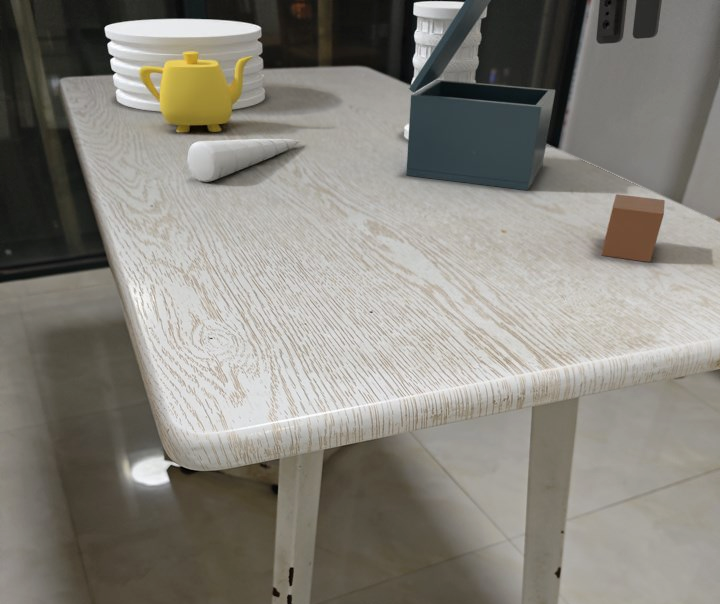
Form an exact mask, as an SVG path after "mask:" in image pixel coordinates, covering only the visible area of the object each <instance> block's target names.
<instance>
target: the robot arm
mask: <svg viewBox="0 0 720 604" xmlns="http://www.w3.org/2000/svg"><path fill="white" fill-rule="evenodd" d="M662 2H663V0H635V10H634V17H633V27H632V37H633V38H634V39H637V40H639V39H650V38H654V37H656V36H657V35H658V34H659V33H658V32H659V25H660V18H661V10H662ZM598 5H599V6H598V16H597V17H598V18H597V26H596V39H595V40H596V42H597V44H600V45H605V44H617V43H620V42H621V41H622V40H623V38H624V34H625V33H624V32H625V25H626V14H627V5H628V0H599V4H598Z"/></svg>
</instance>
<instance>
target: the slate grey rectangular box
mask: <svg viewBox="0 0 720 604" xmlns="http://www.w3.org/2000/svg"><path fill="white" fill-rule="evenodd" d="M555 95H556V89H549V88H538V87H526V86H515V85H503V84H491V83H480V82H476V83H470V82H458V81H447V80H436V81H434V82H432V83H431V84H429V85H427V86H426V87H424V88H422V89H421V90H419V91H417V92H416V93H414V94H413V93H412V94H411V95H410V103H409V104H410V105H409V122H408V124H409V138H408V139H407V157H406V171H405V172H406V176H408V177H417V178H425V179H432V180H441V181H447V182H448V181H449V182H456V183H457V182H458V183H466V184H471V185H472V184H474V185H481V186H488V187H489V186H490V187H498V188H506V189H507V188H508V189H515V190H521V191H529V189H530V188H531V185H532V184H533V183H534V181H535V179H536V178H537V176H538V174H539V172H540V171H541V170H542V167H543V165H544V160H545V154H546V146H547V141H548V136H549V130H550V125H551V124H550V122H551V119H552V112H553V106H554V101H555Z"/></svg>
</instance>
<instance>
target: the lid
mask: <svg viewBox="0 0 720 604" xmlns="http://www.w3.org/2000/svg"><path fill="white" fill-rule="evenodd" d="M491 1H492V0H465V1H463V2H464V4H463V6H462V7H461V9H460V10H459V12H458V13H457V15H456V16H455V18H454V20H453V21H452V23H451V24H450V26H449V27H448V29H447V30H446V32H445V34H444V35H443V37H442V38H441V40H440V41H439V43H438V44H437V46H436V47H435V49H434V51H433V52H432V54H431V55H430V57H429V58H428V60H427V61H426V63H425V65H424V66H423V68H422V69H421V71H420V72H419V74H418V75H417V77H416V79H415V80H414V82H413V83H412V82H411V83H412V85H411V84H410V87H409V88H408V89H409V91H410V92H412V94H413V93H414V92H416V91H418V90H419V89H421V88H423V87H424V86H426V85H428V84H429V83H431V82H433V81H434V80H436V79H438V78H439V77H440V76H441V74H442V73H443V71H444V70H445V68H446V67H447V65H448V64H449V62H450V61H451V59H452V58H453V56H454V55H455V53H456V52H457V50H458V49H459V47H460V46H461V44H462V43H463V41H464V40H465V38H466V37H467V35H468V34H469V32H470V31H471V29H472V28H473V26H474V25H475V23H476V22H477V20H478V19H479V17H480V16H481V14H482V13H483V11H484V10H485V8H486V7H487V8H488V5H489V4H490V2H491Z"/></svg>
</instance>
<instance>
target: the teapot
mask: <svg viewBox="0 0 720 604" xmlns="http://www.w3.org/2000/svg"><path fill="white" fill-rule="evenodd" d="M183 56H184V58H185V60H170V61H167V62H166V63H165V65H164V68H161V67H155V66H144V67H141V68H140V69H139V75H140V78H141V80H142V82H143V83H144V85H145V86H146V87H147V89H148V90H149V91H150V92H151V93H152V94H153V96H154V97H155V98H156V99H157V100H158V101H159V102H160V109H161V112H160V113H161V114H162V117H163V118H164V119H165V122H167V124H169V125H177V127H176V130H175V131H176V132H177V133H188V132H190V130H191V129H190V128H191V126H206V127H207V130H208V132H212V133H214V132H215V133H216V132H217V133H218V132H221V131H222V128H221V126H220V125H222V124H227V123H228V122H229V121H230V118H231V116H232V113H233V110H232V105H233V104H234V103H235V102H237V101H238V99H239V98H240V96H241V93H242V86H243V70H244V67H245V65H246V63H247V62H248V61H249V60H250V59H251V58H252V57H253V56H249V57H245V58H241V59H239V60H238V62H237V63H236V67H235V76H234V80H233V82H232V84H231V85H229V86H228V84H227V82H226V79H225V77H224V74H223V72H222V70H221V67H220V65H219V63H218V62H217V61H214V60H198V56H199V53H198V52H192V51H189V52H184V53H183ZM151 73H161V74H162V78H161V83H160V94H159V93H158V91H157V90H156V88H155V87H154V85H153V83H152V81H151V79H150V74H151Z"/></svg>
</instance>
